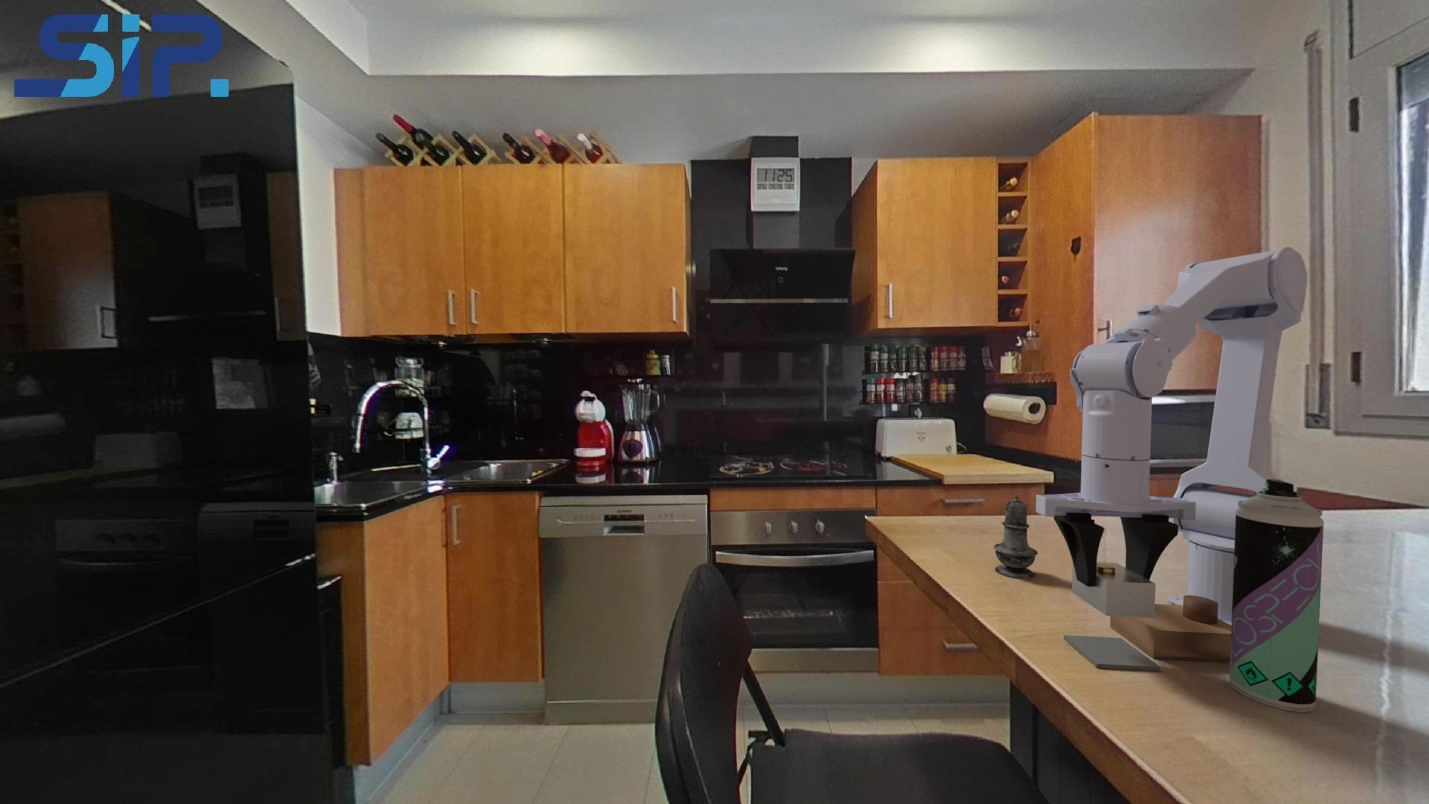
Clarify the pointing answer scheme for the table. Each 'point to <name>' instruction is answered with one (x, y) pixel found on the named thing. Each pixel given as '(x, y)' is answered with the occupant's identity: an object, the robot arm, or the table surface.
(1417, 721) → the table surface
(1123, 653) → the mat
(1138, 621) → the body
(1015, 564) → the salt shaker
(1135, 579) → the grey knob block
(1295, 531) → the spray can
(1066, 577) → the table surface
